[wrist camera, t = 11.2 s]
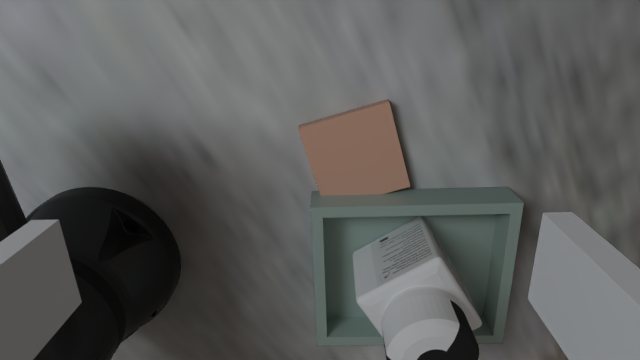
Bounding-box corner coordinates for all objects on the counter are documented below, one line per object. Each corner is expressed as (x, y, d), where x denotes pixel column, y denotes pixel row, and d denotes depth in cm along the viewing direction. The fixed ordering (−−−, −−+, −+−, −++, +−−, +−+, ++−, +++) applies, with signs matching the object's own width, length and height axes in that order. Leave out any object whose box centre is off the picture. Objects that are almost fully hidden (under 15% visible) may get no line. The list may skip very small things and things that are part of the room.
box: (318, 321, 46) (317, 345, 43) (312, 191, 40) (310, 207, 37) (490, 319, 45) (502, 343, 42) (508, 186, 40) (523, 202, 36)
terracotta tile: (325, 204, 41) (325, 209, 40) (299, 125, 38) (298, 128, 37) (408, 182, 40) (410, 186, 39) (387, 99, 37) (389, 101, 36)
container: (459, 273, 42) (509, 378, 30) (390, 307, 44) (412, 420, 32) (421, 213, 40) (460, 301, 28) (350, 252, 42) (358, 350, 30)
